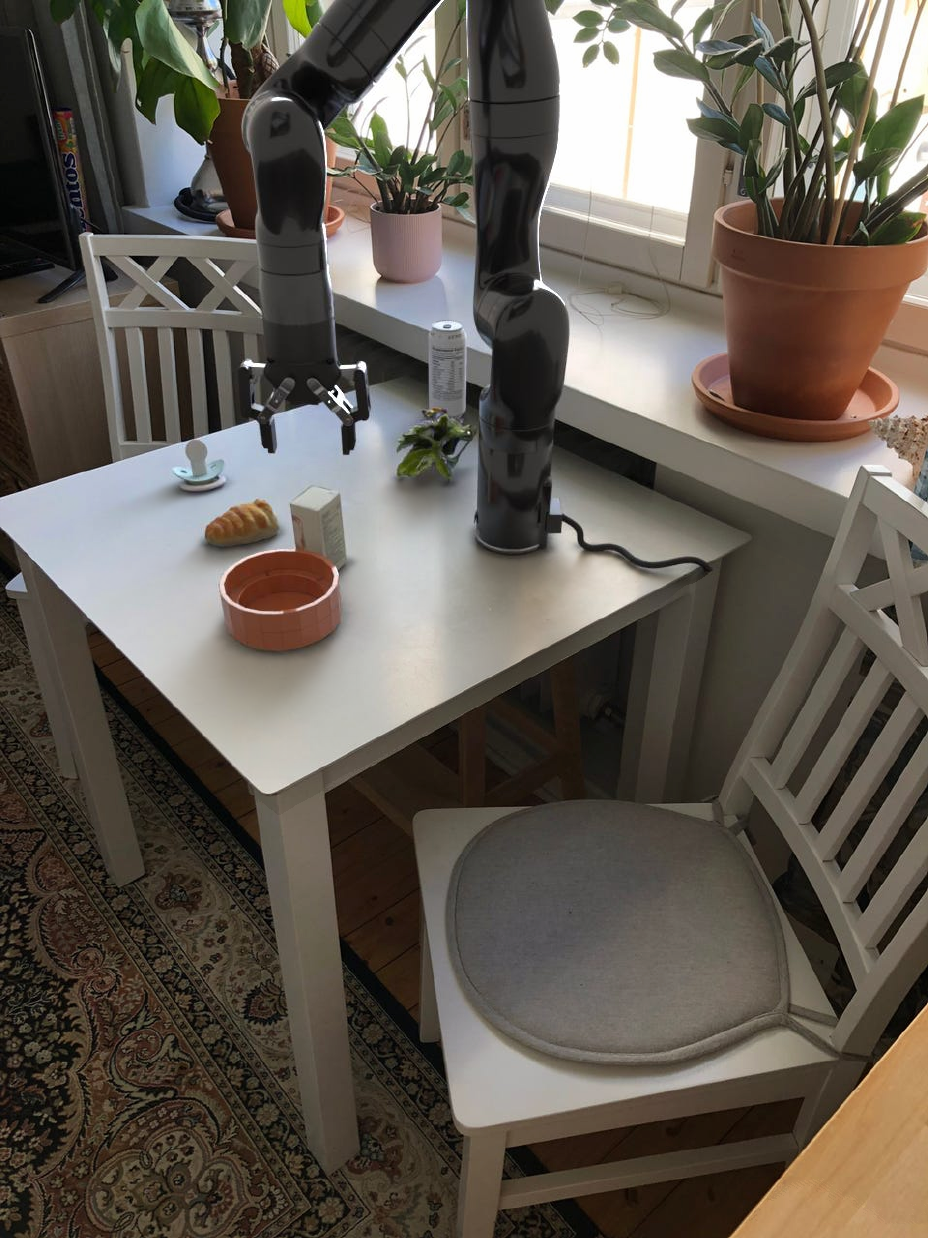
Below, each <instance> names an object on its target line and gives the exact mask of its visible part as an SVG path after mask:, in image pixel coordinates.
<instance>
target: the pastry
mask: <svg viewBox="0 0 928 1238" xmlns="http://www.w3.org/2000/svg"><path fill="white" fill-rule="evenodd" d="M280 528H281V526H280V522H279V520H278V517H277V515H276V514H275V513H274V510H273V507H272V506H271V504H270V503H269V502H267V501H266V500H265V499H260V498H257V499H255V500H254V501H252V502H247V503H242V504H239V505H238V504H237V505H234V506H231V507H230V508H229V509H228V510H227V511H226V512H224V513H223V514H222V515H219V516H216V517H215V518H214V519H213V520H211V522H209V524H207V525H206V526H205V530H204V540H205V541H206V542H208V543H209V544H212V545H214V546H217V547H223V548H226V547H229V548H230V547H234V546H243V545H249V544H253V543H256V542H260V541H261V540H263V539H265V540H267V539H270V538H272V537H275V535H277V534H278V533H279V530H280Z"/></svg>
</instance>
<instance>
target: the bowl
mask: <svg viewBox="0 0 928 1238" xmlns="http://www.w3.org/2000/svg"><path fill="white" fill-rule="evenodd" d="M340 582H341V581H340V574H339V570H338V571H337V569H336V566H335V565H334V564H333V563H331V562H330V561H329V560H328V559H327V558H326V557H323V556H321V555H319V554H316V553H314V552H310V551H305V550H299V549H296V548H279V549H278V548H277V549H270V550H264V551H259V552H256V553H253V554H251V555H247V556H245V557H243V558H241V559H240V560H238V561H236V562H234V563H233V564H232V565H230V566H229V567H228V568H227V569H226V570H225V571H223V573H222V575H221V576H220V580H219V582H218V589H219V595H220V603H221V607H222V613H223V618H224V623H225V624H224V625H225V630H226V631H227V632H228V634H229V635H230V636H231V637H232V638H233V639H234V640H235V641H237V642H239V643H240V644H242V645H244V646H246V647H248V648H252V649H253V648H254V649H257V650H262V651H289V650H294V649H298V648H299V649H300V648H305V647H306V646H309V645H312V644H314V643H317V642H319V641H321V640H323V639H324V638H325V637H326V636H328V635H329V634H331V633H332V632H333V631H334V630H335V628H336V627H337V626H338V625H339V624H340V622H341V618H342V613H343V605H342V594H341V592H342V591H341V583H340Z"/></svg>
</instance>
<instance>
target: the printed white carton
mask: <svg viewBox="0 0 928 1238" xmlns="http://www.w3.org/2000/svg"><path fill="white" fill-rule="evenodd" d="M289 510H290V516H291V524H292V532H293V540H294V546H295V549H299V550H305V551H310V552H314V553H316V554H319V555H321V556H323V557H326V558H327V559H328V560H329V561H330V562H331V563H333V564H334V565H335V566H336V569H337V571H338V572H339V570H340V569H341V568H342V567H343V566H344V565H345V564H346V563H347V562H348V558H347V547H346V537H345V527H344V516H343V508H342V495H341V492H340V491H337V490H333V489H330V488H326V487H323V486H318V485H313V484H312V485H310V486H308V487H307V488H306V489H305V490H303V491H302V492H300V493H299V494H298V495H297V496H295V497H294V498H293V499H292V500H291V501H289Z"/></svg>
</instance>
